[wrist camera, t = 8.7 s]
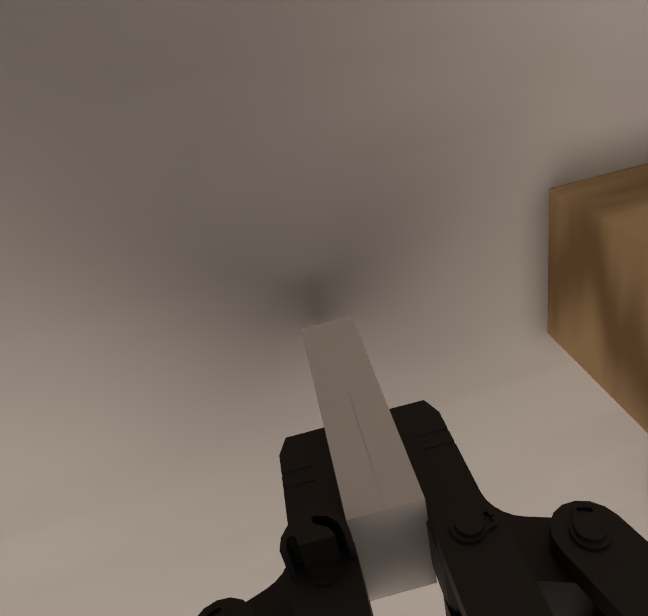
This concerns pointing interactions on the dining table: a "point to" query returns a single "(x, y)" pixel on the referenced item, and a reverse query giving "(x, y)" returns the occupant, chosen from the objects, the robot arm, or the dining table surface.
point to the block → (603, 281)
